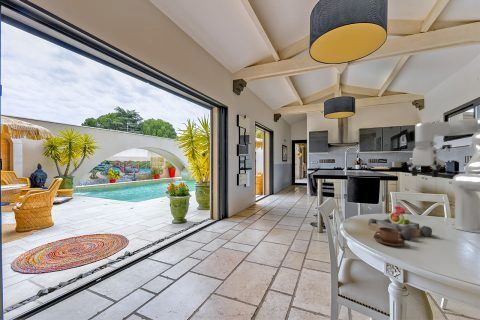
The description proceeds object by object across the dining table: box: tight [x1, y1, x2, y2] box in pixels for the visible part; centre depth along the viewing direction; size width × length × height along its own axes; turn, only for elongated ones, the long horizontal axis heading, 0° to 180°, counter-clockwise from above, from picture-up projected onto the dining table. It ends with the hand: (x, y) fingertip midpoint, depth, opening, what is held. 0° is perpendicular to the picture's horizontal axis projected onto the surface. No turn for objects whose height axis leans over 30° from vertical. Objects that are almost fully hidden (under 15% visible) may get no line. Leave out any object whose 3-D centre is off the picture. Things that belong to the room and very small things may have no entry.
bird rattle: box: [388, 205, 411, 225], centre depth 110 cm, size 6×11×9 cm
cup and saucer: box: [373, 227, 406, 247], centre depth 96 cm, size 12×12×6 cm
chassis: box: [367, 216, 433, 241], centre depth 110 cm, size 22×20×6 cm
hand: (424, 176), depth 111 cm, fingers open, 9 cm apart
